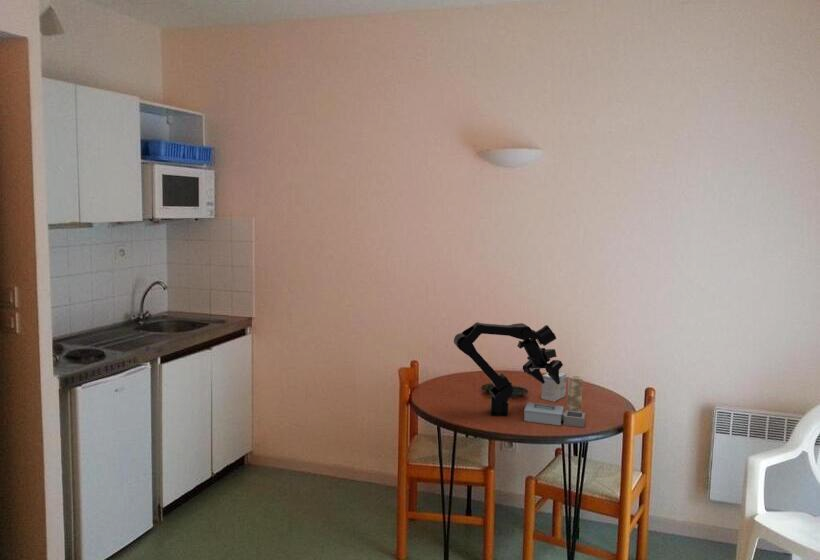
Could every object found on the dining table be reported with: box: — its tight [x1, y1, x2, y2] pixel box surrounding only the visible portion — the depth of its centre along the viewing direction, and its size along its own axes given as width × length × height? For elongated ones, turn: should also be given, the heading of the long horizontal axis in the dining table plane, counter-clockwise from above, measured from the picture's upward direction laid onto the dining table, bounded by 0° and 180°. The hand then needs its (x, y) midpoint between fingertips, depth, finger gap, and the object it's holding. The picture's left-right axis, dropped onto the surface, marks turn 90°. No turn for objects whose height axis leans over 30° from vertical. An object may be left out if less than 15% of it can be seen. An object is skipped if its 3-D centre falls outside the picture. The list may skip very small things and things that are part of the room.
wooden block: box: [566, 375, 584, 412], centre depth 268 cm, size 4×4×15 cm
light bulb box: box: [541, 371, 567, 402], centre depth 289 cm, size 11×7×11 cm, turn 141°
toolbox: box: [523, 401, 586, 428], centre depth 260 cm, size 23×10×6 cm, turn 72°
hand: (551, 383), depth 268 cm, fingers open, 9 cm apart
